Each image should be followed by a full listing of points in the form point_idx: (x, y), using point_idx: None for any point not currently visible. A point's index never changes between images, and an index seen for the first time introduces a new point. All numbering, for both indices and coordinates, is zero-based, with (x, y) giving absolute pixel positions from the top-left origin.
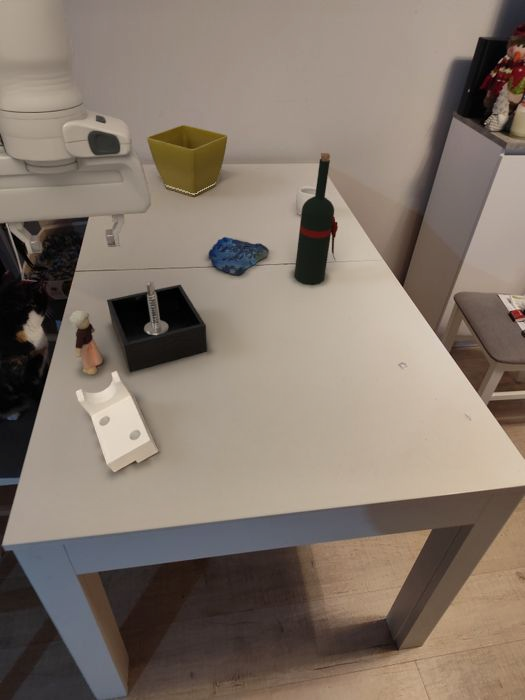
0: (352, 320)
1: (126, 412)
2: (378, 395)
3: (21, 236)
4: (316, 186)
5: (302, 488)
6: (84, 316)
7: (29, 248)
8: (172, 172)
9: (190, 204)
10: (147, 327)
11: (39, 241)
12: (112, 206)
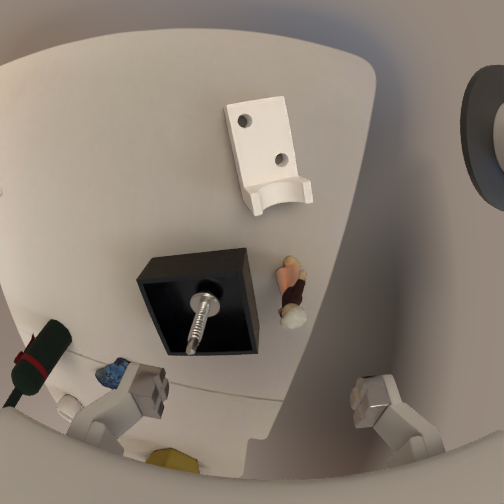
0: (25, 261)
1: (252, 160)
2: (17, 158)
3: (411, 418)
4: (17, 400)
5: (96, 53)
6: (286, 316)
7: (391, 387)
8: (186, 470)
9: (174, 443)
10: (215, 307)
11: (358, 410)
12: (65, 467)
